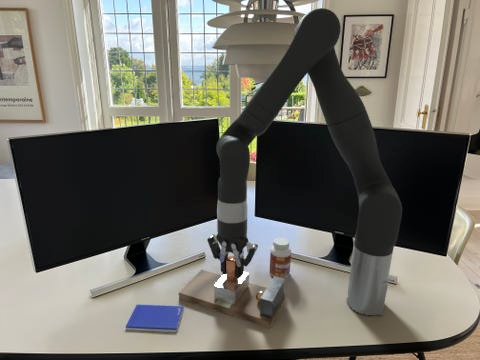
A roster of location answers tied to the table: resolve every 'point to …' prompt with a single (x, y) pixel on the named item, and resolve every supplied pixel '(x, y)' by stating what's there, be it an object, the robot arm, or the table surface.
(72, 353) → the table surface
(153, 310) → the hard drive
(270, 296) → the grey block with knob
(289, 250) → the pill bottle
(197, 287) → the board
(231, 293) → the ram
